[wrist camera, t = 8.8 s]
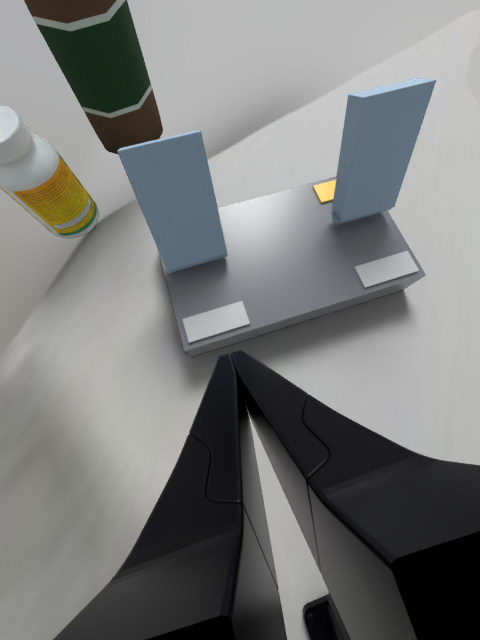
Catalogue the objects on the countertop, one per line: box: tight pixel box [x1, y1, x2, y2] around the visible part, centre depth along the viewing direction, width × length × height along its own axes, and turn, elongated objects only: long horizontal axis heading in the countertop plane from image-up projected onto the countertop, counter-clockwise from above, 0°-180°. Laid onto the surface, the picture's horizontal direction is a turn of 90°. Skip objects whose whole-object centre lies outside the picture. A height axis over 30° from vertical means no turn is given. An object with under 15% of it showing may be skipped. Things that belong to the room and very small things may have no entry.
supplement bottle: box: [0, 106, 99, 238], centre depth 22 cm, size 5×5×10 cm
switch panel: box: [158, 176, 426, 357], centre depth 23 cm, size 12×21×3 cm, turn 108°
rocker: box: [117, 130, 228, 273], centre depth 18 cm, size 2×5×9 cm
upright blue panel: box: [331, 78, 436, 225], centre depth 19 cm, size 2×5×9 cm, turn 108°
